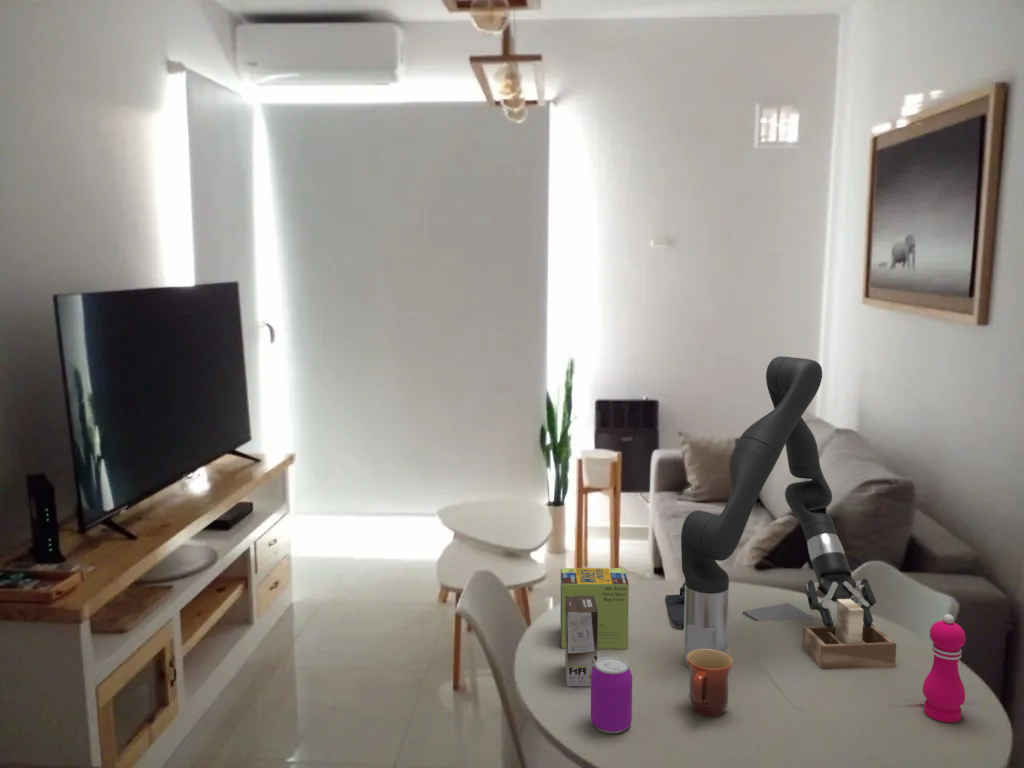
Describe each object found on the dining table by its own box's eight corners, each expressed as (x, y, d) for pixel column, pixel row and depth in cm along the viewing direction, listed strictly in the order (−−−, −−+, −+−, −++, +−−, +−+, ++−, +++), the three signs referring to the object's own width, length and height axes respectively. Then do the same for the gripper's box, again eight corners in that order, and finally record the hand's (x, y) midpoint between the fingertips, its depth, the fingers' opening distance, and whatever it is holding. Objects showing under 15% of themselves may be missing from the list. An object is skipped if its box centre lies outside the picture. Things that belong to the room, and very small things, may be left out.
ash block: (834, 650, 180) (837, 599, 179) (847, 650, 180) (850, 598, 179) (847, 663, 174) (850, 610, 173) (860, 663, 175) (863, 609, 173)
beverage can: (582, 725, 152) (582, 664, 151) (606, 709, 158) (606, 650, 156) (616, 740, 147) (617, 678, 146) (639, 723, 153) (640, 663, 151)
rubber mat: (840, 632, 191) (840, 630, 191) (792, 642, 186) (793, 640, 186) (787, 604, 208) (787, 602, 208) (742, 613, 203) (742, 611, 203)
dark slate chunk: (662, 631, 194) (662, 612, 193) (665, 596, 215) (666, 579, 215) (728, 637, 191) (728, 617, 190) (725, 601, 212) (725, 583, 211)
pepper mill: (947, 728, 151) (954, 625, 148) (912, 710, 157) (918, 611, 154) (972, 718, 154) (979, 617, 151) (937, 701, 160) (943, 604, 158)
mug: (694, 693, 164) (695, 644, 163) (737, 704, 159) (738, 655, 158) (672, 720, 154) (673, 669, 153) (717, 733, 149) (719, 680, 148)
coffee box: (598, 687, 167) (598, 612, 165) (566, 686, 167) (566, 612, 165) (594, 666, 176) (594, 594, 174) (564, 666, 176) (564, 594, 174)
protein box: (628, 649, 183) (629, 583, 181) (560, 649, 184) (560, 583, 182) (624, 629, 194) (624, 567, 192) (559, 629, 194) (559, 567, 192)
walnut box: (802, 651, 182) (803, 626, 181) (871, 648, 183) (872, 624, 182) (822, 672, 172) (823, 646, 171) (894, 669, 173) (896, 644, 172)
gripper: (803, 551, 183) (823, 621, 173) (864, 549, 184) (888, 618, 174) (792, 565, 189) (812, 634, 179) (852, 564, 190) (874, 631, 180)
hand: (849, 626), depth 176 cm, fingers open, 8 cm apart
